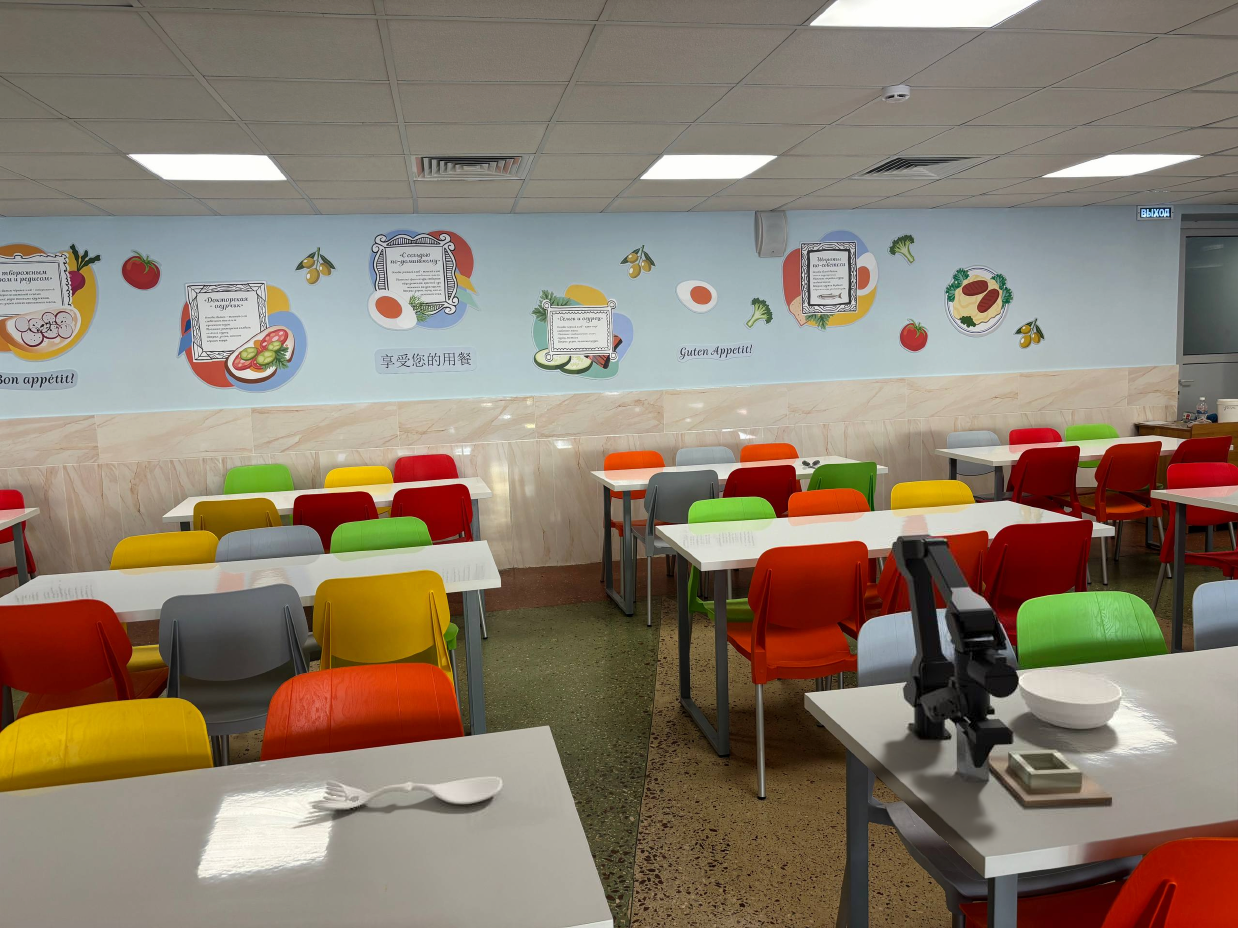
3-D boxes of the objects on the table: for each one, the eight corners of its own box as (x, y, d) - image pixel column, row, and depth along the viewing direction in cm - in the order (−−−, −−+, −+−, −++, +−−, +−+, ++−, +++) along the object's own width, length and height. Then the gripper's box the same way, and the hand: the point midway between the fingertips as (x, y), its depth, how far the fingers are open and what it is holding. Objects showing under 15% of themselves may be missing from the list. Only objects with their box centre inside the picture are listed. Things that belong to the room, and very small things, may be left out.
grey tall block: (956, 770, 147) (956, 722, 146) (979, 769, 147) (979, 721, 146) (965, 781, 143) (965, 731, 142) (989, 780, 143) (988, 730, 142)
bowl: (1122, 711, 168) (1123, 677, 167) (1120, 747, 153) (1121, 710, 152) (1023, 697, 178) (1023, 664, 177) (1012, 729, 162) (1012, 693, 162)
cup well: (983, 761, 150) (983, 742, 149) (1060, 757, 149) (1060, 739, 149) (1025, 806, 134) (1025, 785, 133) (1112, 802, 133) (1112, 782, 133)
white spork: (328, 796, 149) (326, 778, 149) (505, 783, 150) (503, 765, 150) (312, 822, 140) (310, 803, 140) (500, 809, 141) (499, 790, 141)
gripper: (907, 659, 152) (908, 740, 154) (946, 698, 134) (947, 789, 135) (967, 657, 152) (968, 737, 154) (1015, 695, 134) (1015, 786, 135)
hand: (972, 761), depth 144 cm, fingers closed on grey tall block, 4 cm apart
